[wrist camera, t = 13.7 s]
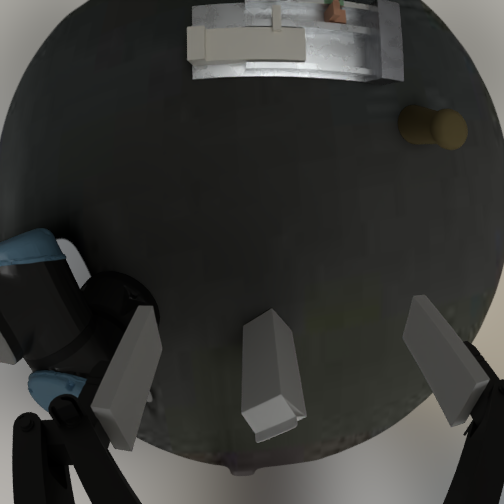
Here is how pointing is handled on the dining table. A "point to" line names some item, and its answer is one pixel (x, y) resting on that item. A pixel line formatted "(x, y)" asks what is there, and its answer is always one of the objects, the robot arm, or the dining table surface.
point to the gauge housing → (316, 40)
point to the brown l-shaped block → (335, 13)
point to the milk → (270, 377)
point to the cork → (432, 127)
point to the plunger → (246, 44)
